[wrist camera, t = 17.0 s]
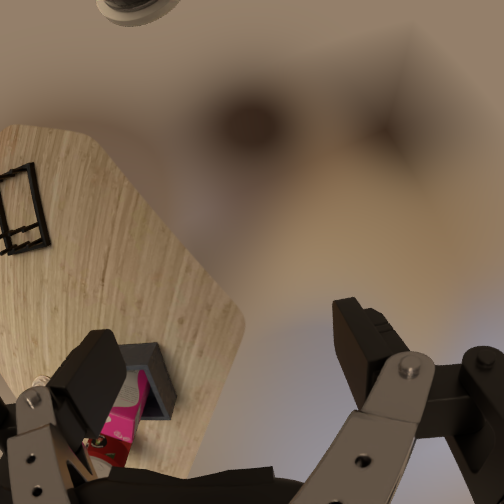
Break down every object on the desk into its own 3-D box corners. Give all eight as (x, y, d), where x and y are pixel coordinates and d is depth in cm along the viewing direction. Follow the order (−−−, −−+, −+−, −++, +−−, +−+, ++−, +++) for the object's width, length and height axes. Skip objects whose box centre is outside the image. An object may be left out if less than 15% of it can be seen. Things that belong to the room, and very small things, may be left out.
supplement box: (116, 381, 45) (92, 431, 34) (118, 354, 43) (90, 404, 32) (150, 392, 45) (132, 445, 34) (154, 365, 43) (134, 419, 33)
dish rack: (-5, 178, 35) (-21, 182, 31) (33, 162, 35) (16, 164, 31) (12, 253, 39) (-3, 261, 35) (51, 244, 38) (36, 252, 35)
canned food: (128, 418, 48) (111, 463, 37) (138, 444, 50) (125, 487, 40) (92, 412, 48) (71, 453, 37) (104, 438, 50) (87, 478, 40)
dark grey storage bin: (95, 345, 43) (81, 366, 38) (157, 342, 43) (147, 364, 38) (119, 396, 46) (109, 419, 41) (177, 395, 46) (171, 420, 41)
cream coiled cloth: (44, 396, 48) (34, 412, 44) (28, 371, 46) (16, 388, 41) (72, 401, 48) (62, 419, 43) (56, 376, 45) (44, 394, 41)
